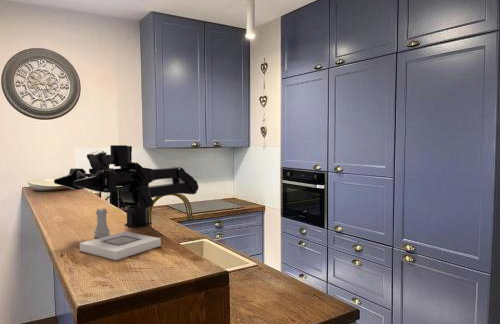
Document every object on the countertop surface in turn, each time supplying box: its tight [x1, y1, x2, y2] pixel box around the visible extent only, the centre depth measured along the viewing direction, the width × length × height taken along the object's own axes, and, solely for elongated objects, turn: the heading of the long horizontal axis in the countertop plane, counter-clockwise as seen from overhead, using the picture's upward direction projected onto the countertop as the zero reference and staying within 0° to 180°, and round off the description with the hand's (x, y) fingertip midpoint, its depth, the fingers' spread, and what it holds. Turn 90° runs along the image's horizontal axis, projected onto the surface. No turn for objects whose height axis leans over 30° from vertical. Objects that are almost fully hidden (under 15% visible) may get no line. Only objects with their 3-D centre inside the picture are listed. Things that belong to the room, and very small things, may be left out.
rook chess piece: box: [93, 208, 111, 239], centre depth 104 cm, size 4×4×8 cm
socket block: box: [79, 231, 162, 261], centre depth 91 cm, size 14×14×2 cm
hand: (63, 182), depth 97 cm, fingers open, 9 cm apart
